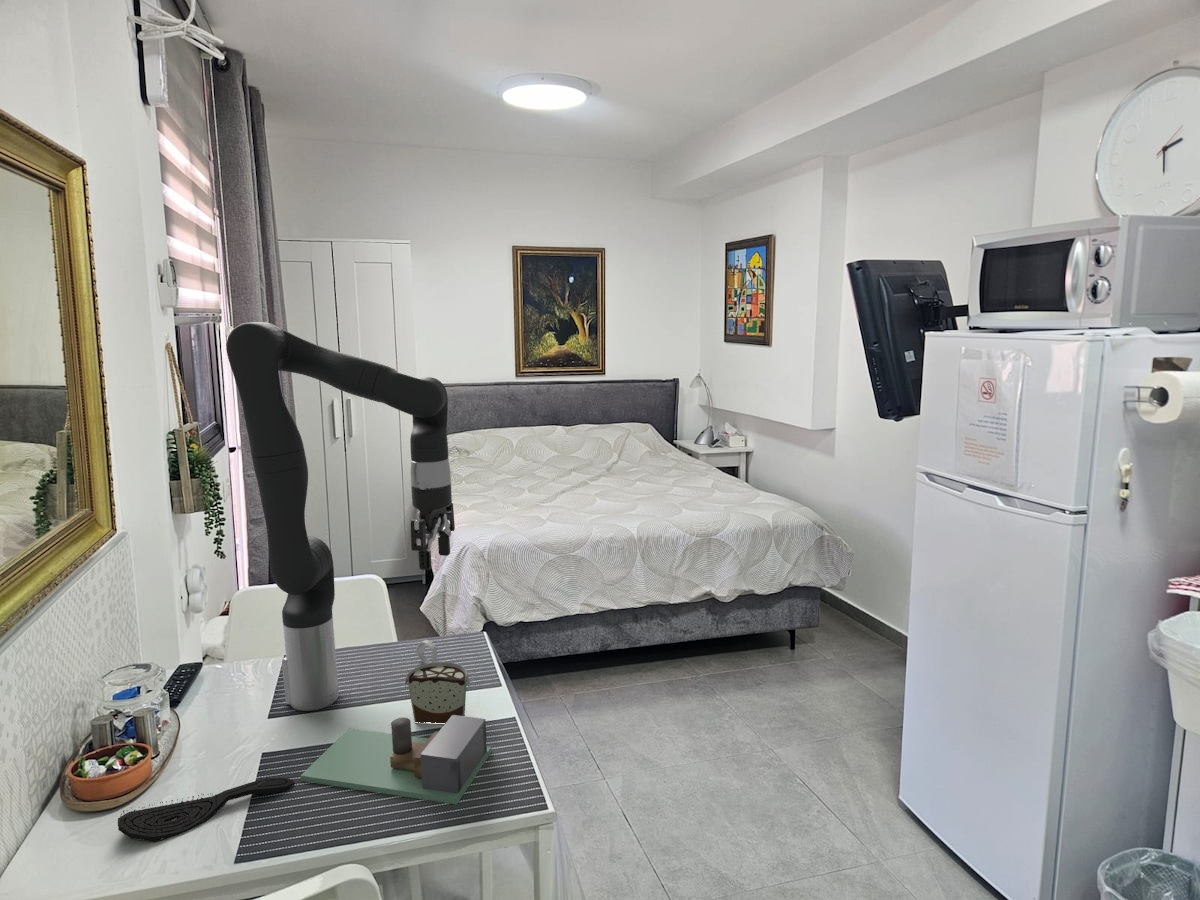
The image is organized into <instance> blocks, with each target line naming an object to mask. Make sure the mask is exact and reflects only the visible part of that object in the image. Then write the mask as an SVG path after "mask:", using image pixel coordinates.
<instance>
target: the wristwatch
mask: <svg viewBox="0 0 1200 900" xmlns="http://www.w3.org/2000/svg"><path fill="white" fill-rule="evenodd" d="M426 646H427V647H428V648H429V649H430V650H431V656H430V658H431V660H429V659H428V658H427V657H426V655H425V650H426ZM414 652H415V654H416V655H417V657H418V658H419V659H420V661H421V662H422V663H423V664H428V663H434V662H437V660H438V648H437V647H436V645H435V644H434V643H433V642H432V641H431V640H428V639H425V640H423V641H421V642H419V643H418V645H417V646H416V648H415V650H414Z"/></svg>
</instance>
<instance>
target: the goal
mask: <svg viewBox="0 0 1200 900" xmlns="http://www.w3.org/2000/svg"><path fill="white" fill-rule="evenodd" d="M486 722H487V721H486V718H482V717H474V716H473V717H472V716H457V715H452V716H451V717H450V719H449V720H448V721H447V722H446V723H445V725H442V727H441V728H440V730H439V731H437V732H438V733H437V735H436V736H435V737H434V738H433V739H432V741H431V742H430V743H429V744H428V746H427V747H426V748H425V749H424V751H423V752H422V753H421V754H420V755H421V772H422V788H423V789H430V790H437V791H443V792H450V793H457V794H458V793H459V791H460V790H461V788H462V787H463V785H464V784H465V782H466V781H467V780H468V778H469V777H470V775H471V774H472V772H473V771H474V769H475V768H476V766H477V765H478V763H479V762H480V760H481V759H482V757H483V756H484V754H485V753H486V751H487V746H488V745H487V723H486Z"/></svg>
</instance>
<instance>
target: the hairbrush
mask: <svg viewBox="0 0 1200 900" xmlns="http://www.w3.org/2000/svg"><path fill="white" fill-rule="evenodd" d="M294 785H295V782H294V779H293V778H292V779H291V778H288V777H287V778H286V777H282V776H281V777H266V778H262V779H259V780H254V781H252V782H247V783H245V784H241V785H238V786H235V787H231V788H229V789H226V790H223V791H222V792H219V793H217V794H214V795H213V793H211V792H210V793H207V795H208V796H206V797H200V795H199V794H198V795H197V796H198V797H197V798H196V799H194V798H195V797H194V796H195V795H193V796H192V797H191V798H192V799H191V800H186V801H184V798H183V797H182V801H180V802H175V803H169V804H165V805H163V802H164V801H161V802H159V804H162V805H160V806H154V807H153V805H154V804H153V803H152V804H148V806H149V807H148V808H145V806H143V807H142V808H141V809H140V806H138V810H136V809H134V810H130V811H129V810H128V809H126V813H125V810H122V813H120V817H118V818H117V828H118V829H117V830H118V831H119V832H120V833H122V835H125V836H127V837H128V838H129V839H131V840H139V841H144V842H145V841H146V842H149V843H150V842H151V843H156V842H161V841H165V840H167V839H171V838H174V837H177V836H180V835H182V834H185V833H187V832H189V831H191V830H193V829H196V828H197V827H200V826H201V825H202V824H204V823H206V822H207V821H209V820H211V818H213V816H215V815H216V813H218V812H219V811H220V810H221V809H222V808H223V807H224V805H226V804H227V803H228V802H230V801H232V800H235V799H239V798H244V797H247V796H250V795H258V794H259V795H261V794H264V795H265V794H274V793H281V792H286V791H288V790H290V789H291V788H292V787H294ZM209 794H210V795H211V796H210V795H209ZM204 795H205V794H204V793H201V796H204ZM199 797H200V798H199ZM187 799H189V796H187ZM170 801H171V802H174V800H173V799H172V800H170ZM176 801H178V799H176ZM165 803H167V801H165ZM150 806H152V807H150ZM130 809H133V807H130ZM122 814H123V815H122Z"/></svg>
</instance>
